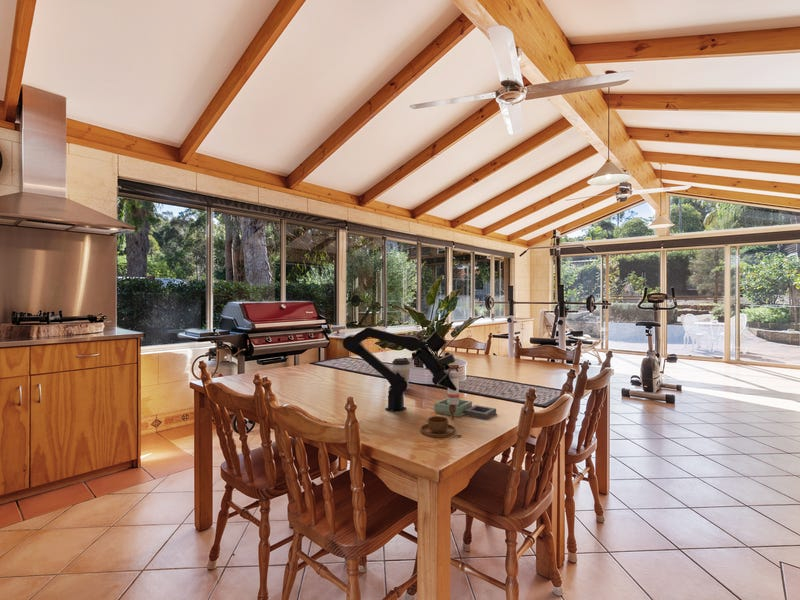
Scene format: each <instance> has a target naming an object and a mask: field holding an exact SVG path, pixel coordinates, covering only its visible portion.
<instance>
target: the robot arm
mask: <svg viewBox="0 0 800 600" xmlns="http://www.w3.org/2000/svg"><path fill="white" fill-rule="evenodd" d="M368 338H372V339H375V340H379V341H383V342H387V343H390V344H391V343H392V344H395V345H397V346H399V347H401V348H403V349H405V350H407V351H410V352H411V360H412V361H414V360H415V359H418V360H419V361H420V362H421V363H422V365H423V366H424V367H425V369H426V370H428V371H429V372H430V373H431V374H432V378H431V380H432V381H431V382H432V383H433V384H434V385H435V386H437V385H440V386H442V387H445V388H447V389H448V388H449V389H452V390H454V391H456V390H457V388H456V387H455V385H454V384H453V382H452V381H451V380H450V378H449V373H448V374H447V372H450V371H452V368H451V367H452V365H450V364H453V363H455V362H456V359H455V357H454V354H453V353H452V352H451V353H450V352H449V351H447V352H444V356H442V357H441V358H440V357H439V356H436V355H434V354H433V353H438V352H439V351H441V349H442V348H443V347H445V346H446V344H447V343H448V342H447V341H446V340H445V339H444V338H443V337H442V336H441V335H440V334H438V332H436V331H433V332H432V333H431V335H430V336H429V337H428V338H427V339H420V338H418V337H417V336H416V335H411V334H410V335H409V334H408V335H407V334H396V333H394V332H393V333H392V332H389V331H386V330H381V329H378V328H374V327H371V326H366V327H365V328H364V329H362V330H361V331H359V332H358V333H356V334H349V335H347V336H346V337H345V338H344V339H343V341H342V346H343V349H345V350H346V351H348V352H350V353H351V354H354V355H355V356H358V357H360V358H361V359H362V360H363V361H364V362H366V363H367V364H368V365H370V366H371V367H372V369H374V370H375V371H376V372H378V373H379V374H380V375H382V376H383V377H384V378H385V380H386V381H387V382H388V383H389V387H388V394H387V407H385V408H384V409H385V410H386V411H390V412H395V413H399V412H401V411H405V410H407V407H406V406H405V403H404V401H405V400H404V399H405V398H404V392H405V391H407V390H408V389H407V386H408V387H409V383H408V384H407V379H406V377H405V375H404V374H402V373H401V372H400V371H399V370H397V371H396V372H395V371H393V370H392V368H390V366H388V365H387V364H385V363H384V362H383V361H381V359H379V358H378V357H377V356H376V355H374V354H373V352H371V351H370V350H368V349H367V348H366V347H365V345H364V344H363V341H365V340H366V339H368ZM421 348H422V349H421ZM430 350H431V351H430ZM406 389H407V390H406Z"/></svg>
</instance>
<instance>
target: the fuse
mask: <svg viewBox="0 0 800 600" xmlns="http://www.w3.org/2000/svg"><path fill="white" fill-rule="evenodd" d="M448 373H449V378H450V380H451V381H452V382H453V384H454V385H455V387H456V388H457V390H456V391H454V390H452V389H449V388H447V395H446V396H447V398H448V400H447V405H455V406H459V399H460V398H459V397H460V394H459V391H460V390H459V388H460V387H459V380H460V372H459V371H454V370H453V371H452V370H451V371H450V372H447V374H448Z"/></svg>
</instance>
